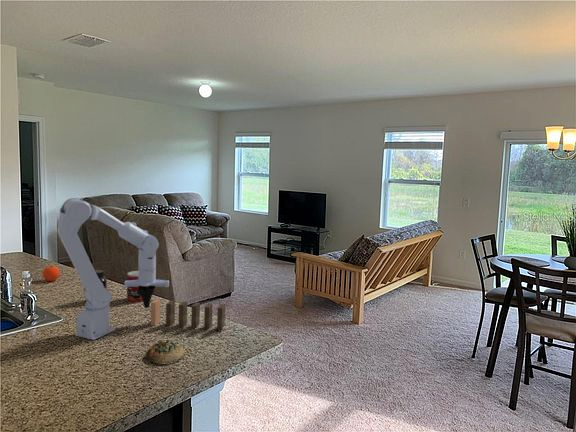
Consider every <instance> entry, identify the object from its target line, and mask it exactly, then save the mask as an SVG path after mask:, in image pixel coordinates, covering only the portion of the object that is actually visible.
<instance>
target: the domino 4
mask: <svg viewBox="0 0 576 432" xmlns="http://www.w3.org/2000/svg"><path fill="white" fill-rule="evenodd" d="M200 312H201V303H200V302H196V301H195V302H194V303H192V305H191V319H190V320H191V322H190V323H191V324H190V325H191V326H190V327H191V328H196V329H198V327H199V326H200V325H199V324H200V323H201V322H200V319H201V318H200V316H201V313H200ZM198 325H199V326H198ZM197 326H198V327H197ZM191 328H190V329H191Z"/></svg>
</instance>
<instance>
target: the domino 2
mask: <svg viewBox="0 0 576 432" xmlns="http://www.w3.org/2000/svg"><path fill="white" fill-rule="evenodd" d="M175 316H176V300H171V299H170V300H169V301H168V302H167V303H165V327H166V326H171V325H172V326H173V325H174V324H176V322H175V321H176V320H175V318H176V317H175ZM172 326H171V327H172Z"/></svg>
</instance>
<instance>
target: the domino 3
mask: <svg viewBox="0 0 576 432" xmlns="http://www.w3.org/2000/svg"><path fill="white" fill-rule="evenodd" d="M186 325H188V301H183V300H182V302H180V304H179V305H178V328H179V327H184V326H185V327H186ZM185 327H184V328H185Z"/></svg>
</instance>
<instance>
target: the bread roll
mask: <svg viewBox="0 0 576 432" xmlns="http://www.w3.org/2000/svg"><path fill="white" fill-rule="evenodd" d="M185 354H186V350H185V349H184V348H183V347H182V346H180V345H178V343H177V342H175V341H174V342H173V341H171V340H169V339H168V340H166V341H162V340H159V341H158V342H156V343H155V344H152V346H151V347H149V348H148V349H147V351H146V353H145V357H146V359H147V360H148V361H149V360H150V361H151V362H150V361H149V362H150V363H154V364H155V363H158V364H157V365H161V364H162V363H171V362H174V363H176V362H175V361H177V360H179V359H180V358H181V359H182V358H183V357H184V355H185ZM181 359H180V360H181ZM180 360H179V361H180ZM177 362H178V361H177Z"/></svg>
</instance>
